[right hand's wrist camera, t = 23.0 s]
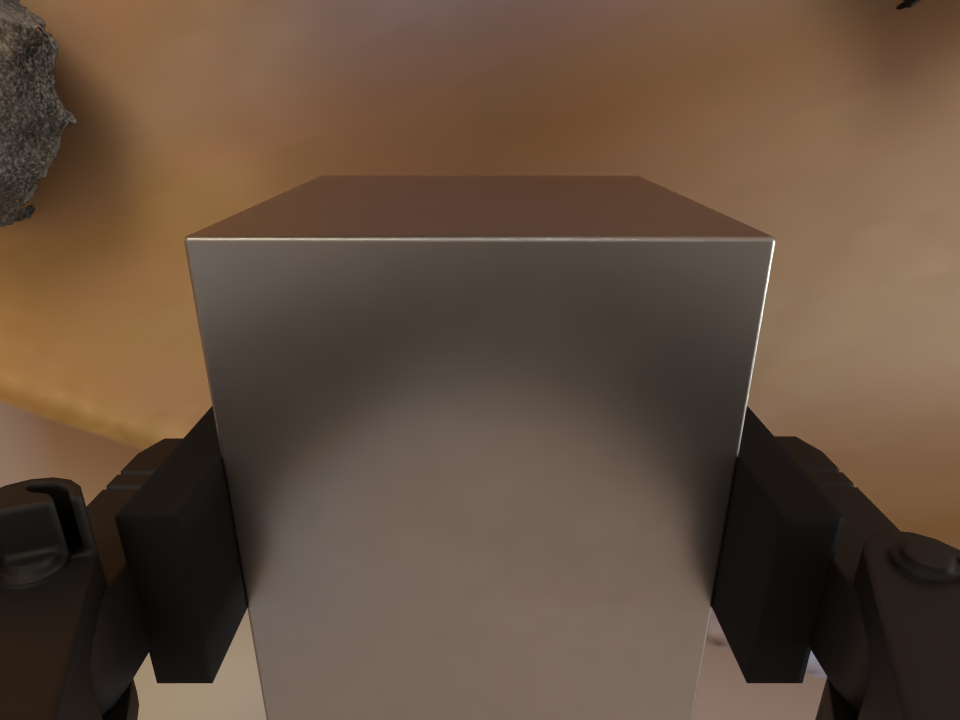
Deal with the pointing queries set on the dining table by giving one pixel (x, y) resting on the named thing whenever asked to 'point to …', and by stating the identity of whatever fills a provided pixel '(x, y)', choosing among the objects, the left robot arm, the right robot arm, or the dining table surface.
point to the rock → (26, 108)
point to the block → (479, 439)
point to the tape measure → (907, 4)
